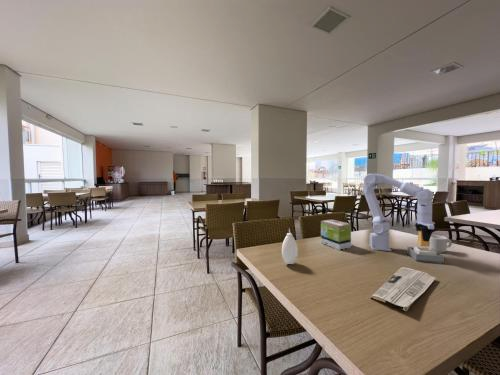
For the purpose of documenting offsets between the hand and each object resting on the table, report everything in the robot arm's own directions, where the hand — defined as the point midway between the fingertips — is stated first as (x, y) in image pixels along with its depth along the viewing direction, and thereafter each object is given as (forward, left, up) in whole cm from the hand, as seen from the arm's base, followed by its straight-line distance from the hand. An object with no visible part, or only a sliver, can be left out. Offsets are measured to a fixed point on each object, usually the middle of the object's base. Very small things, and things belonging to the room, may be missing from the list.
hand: (424, 239), depth 105 cm
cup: (+13, +14, -10) cm, 21 cm away
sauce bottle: (-64, -25, -10) cm, 70 cm away
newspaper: (-20, -36, -10) cm, 42 cm away
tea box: (-41, +10, -10) cm, 43 cm away
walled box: (0, 0, -9) cm, 9 cm away
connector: (0, 0, -3) cm, 3 cm away
